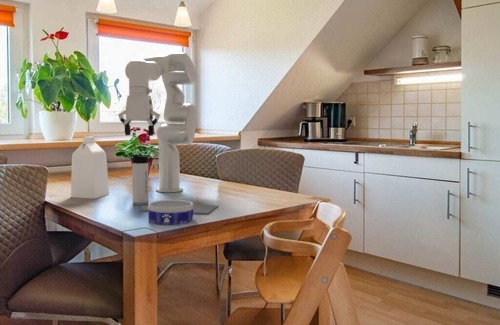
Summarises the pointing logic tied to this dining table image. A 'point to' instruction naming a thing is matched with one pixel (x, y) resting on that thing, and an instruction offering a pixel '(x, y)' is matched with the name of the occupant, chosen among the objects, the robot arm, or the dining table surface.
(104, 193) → the milk
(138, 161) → the travel mug
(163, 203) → the dog bowl
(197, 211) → the mat
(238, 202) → the dining table surface
